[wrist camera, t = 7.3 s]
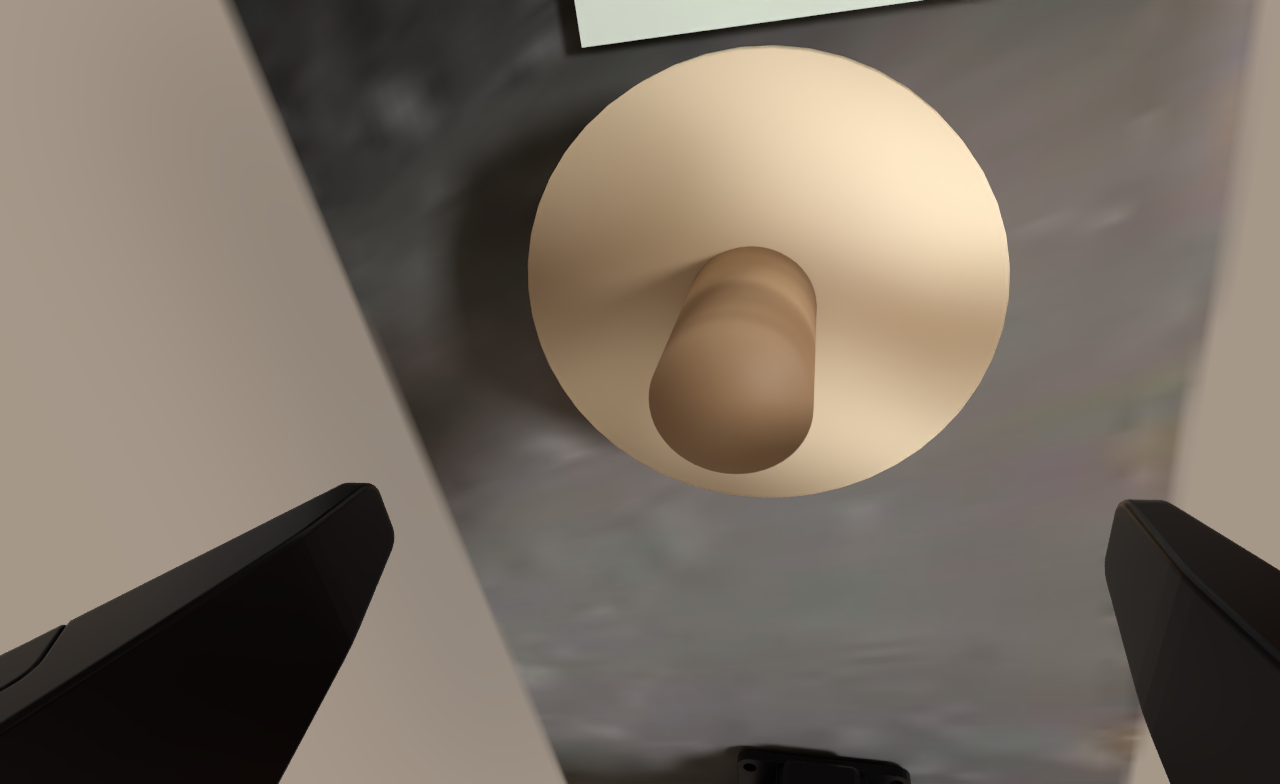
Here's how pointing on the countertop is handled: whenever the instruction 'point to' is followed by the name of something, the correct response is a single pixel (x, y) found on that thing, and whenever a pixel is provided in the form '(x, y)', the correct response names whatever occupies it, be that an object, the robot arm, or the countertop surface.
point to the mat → (693, 15)
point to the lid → (769, 272)
